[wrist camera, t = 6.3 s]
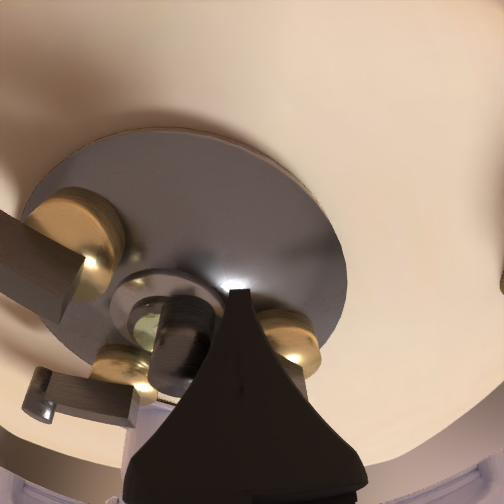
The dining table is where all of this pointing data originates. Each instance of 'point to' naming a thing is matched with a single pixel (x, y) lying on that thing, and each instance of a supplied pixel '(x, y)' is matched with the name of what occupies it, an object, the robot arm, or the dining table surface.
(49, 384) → the knob
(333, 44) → the dining table surface
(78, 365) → the dining table surface
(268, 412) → the robot arm
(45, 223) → the knob
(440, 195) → the dining table surface
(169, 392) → the knob
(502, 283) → the cork
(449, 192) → the dining table surface
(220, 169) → the levelling plate
